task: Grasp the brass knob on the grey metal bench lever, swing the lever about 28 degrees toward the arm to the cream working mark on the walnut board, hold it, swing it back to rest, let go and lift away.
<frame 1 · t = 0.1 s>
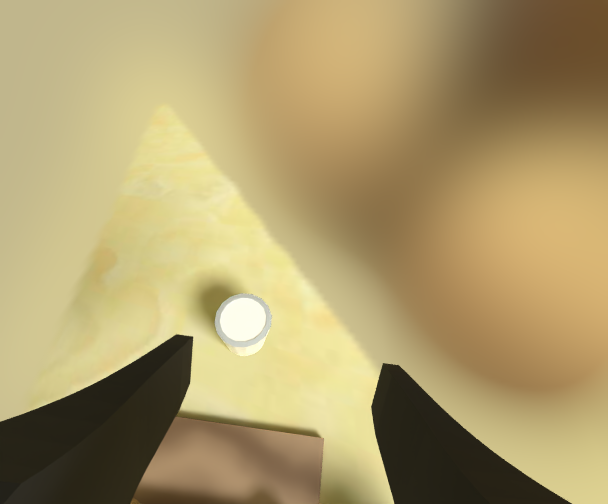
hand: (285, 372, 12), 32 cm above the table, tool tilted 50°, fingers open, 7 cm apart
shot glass: (245, 336, 44), on the table
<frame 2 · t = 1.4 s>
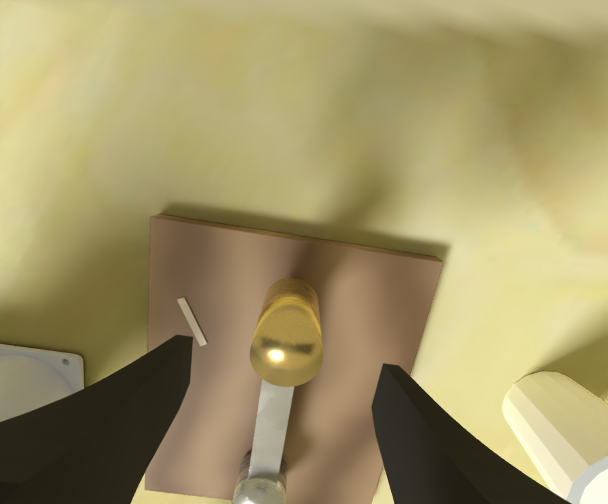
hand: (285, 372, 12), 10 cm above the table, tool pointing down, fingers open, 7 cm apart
lever: (271, 431, 18), point 5 cm above the table, hinge at 0.0°
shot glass: (537, 400, 24), on the table
bench base: (277, 378, 23), on the table
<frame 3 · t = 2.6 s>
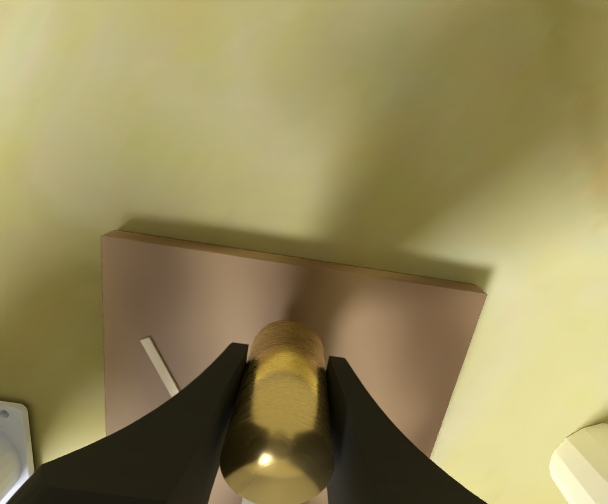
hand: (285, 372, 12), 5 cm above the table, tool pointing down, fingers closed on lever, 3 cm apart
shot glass: (593, 456, 19), on the table
bench base: (271, 431, 19), on the table
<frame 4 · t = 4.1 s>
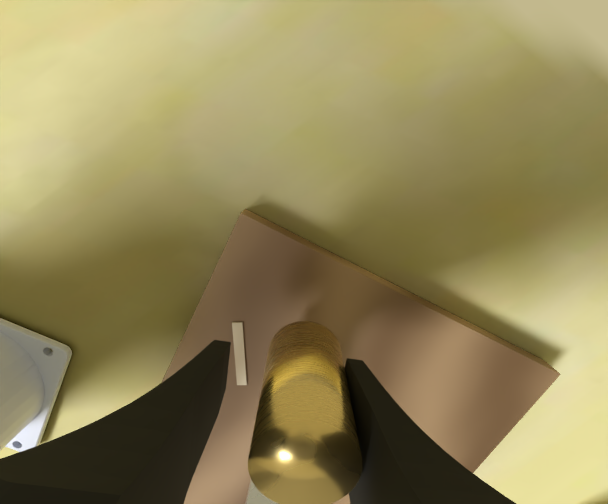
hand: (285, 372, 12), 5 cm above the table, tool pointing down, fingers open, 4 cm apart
bench base: (305, 439, 19), on the table
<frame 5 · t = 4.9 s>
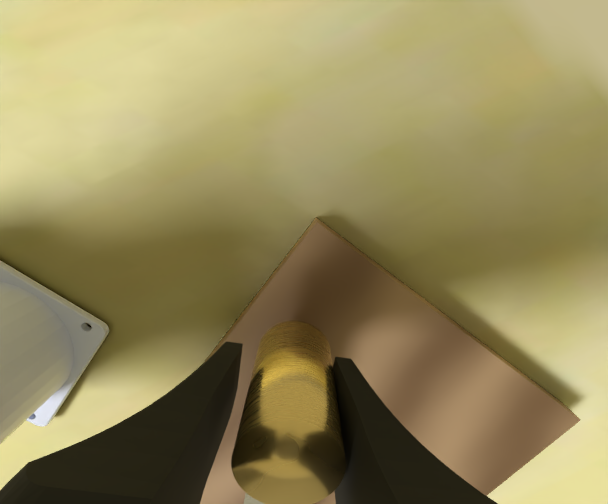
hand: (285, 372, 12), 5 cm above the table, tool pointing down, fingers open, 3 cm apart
bench base: (322, 448, 19), on the table
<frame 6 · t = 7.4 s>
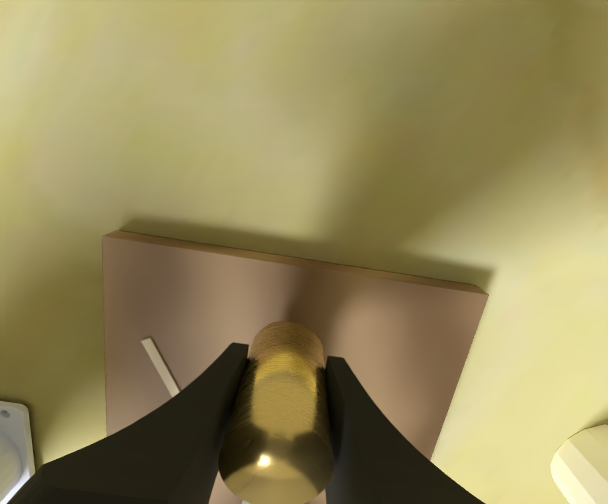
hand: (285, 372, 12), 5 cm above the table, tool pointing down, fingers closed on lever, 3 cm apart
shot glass: (594, 457, 19), on the table
bench base: (272, 432, 19), on the table
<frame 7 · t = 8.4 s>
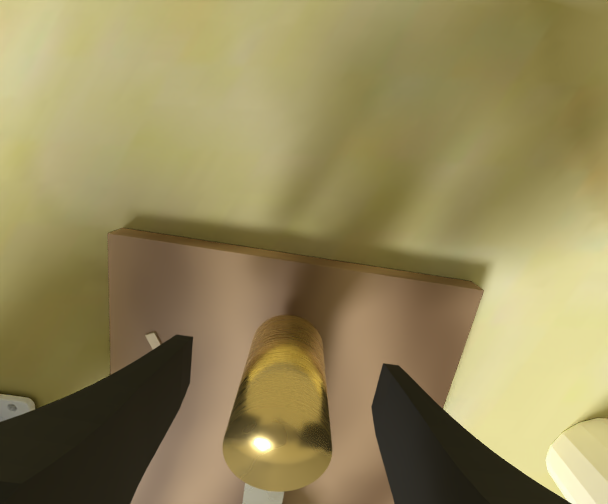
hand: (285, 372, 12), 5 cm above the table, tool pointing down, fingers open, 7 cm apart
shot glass: (588, 451, 20), on the table
bench base: (272, 425, 19), on the table
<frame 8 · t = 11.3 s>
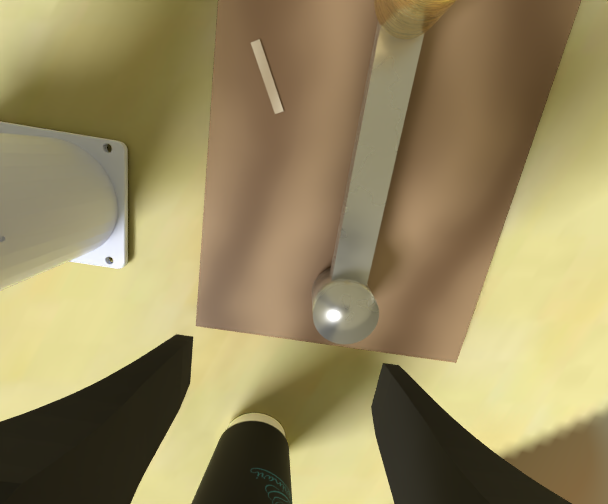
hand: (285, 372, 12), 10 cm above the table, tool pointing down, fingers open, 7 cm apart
lever: (377, 179, 14), point 5 cm above the table, hinge at 0.2°
dixie cup: (256, 434, 25), on the table
bench base: (358, 180, 19), on the table
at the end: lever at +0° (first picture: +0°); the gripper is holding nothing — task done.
